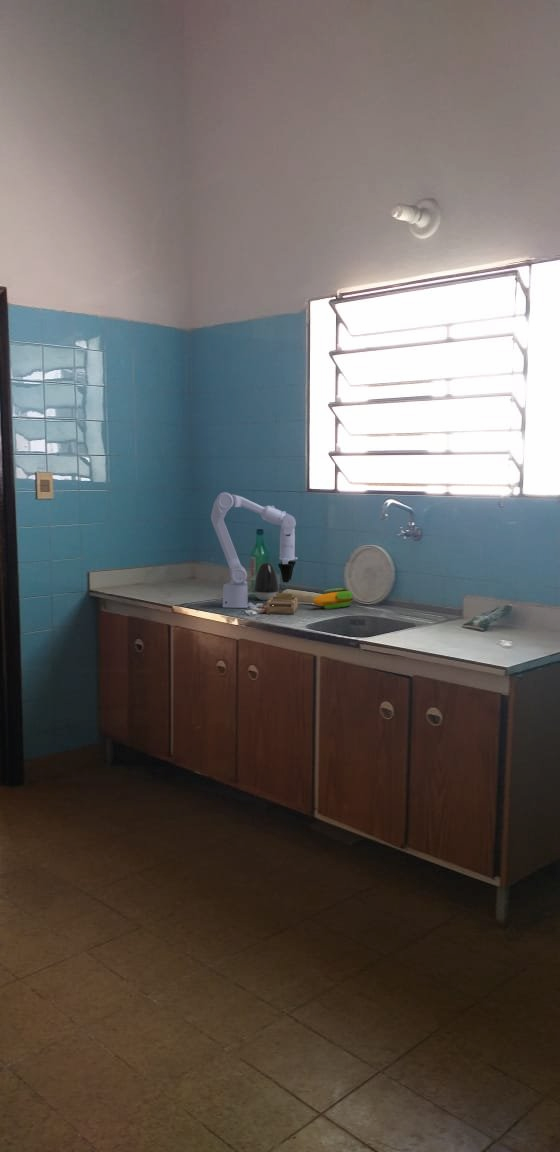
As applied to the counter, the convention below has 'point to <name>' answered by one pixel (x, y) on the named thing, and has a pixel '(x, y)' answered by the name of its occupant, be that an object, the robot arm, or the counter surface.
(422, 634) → the counter surface
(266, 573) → the dark grey egg shape
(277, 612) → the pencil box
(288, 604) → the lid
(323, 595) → the corn
